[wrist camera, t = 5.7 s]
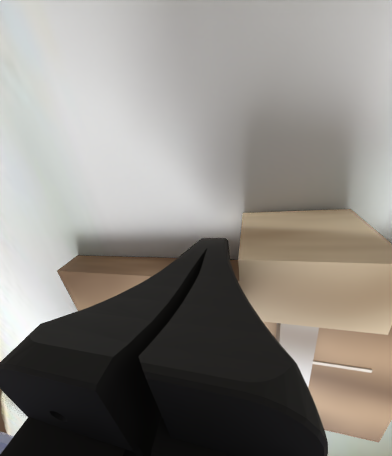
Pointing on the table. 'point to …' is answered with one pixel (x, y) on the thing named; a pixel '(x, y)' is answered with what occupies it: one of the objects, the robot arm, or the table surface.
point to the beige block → (315, 276)
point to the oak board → (325, 346)
